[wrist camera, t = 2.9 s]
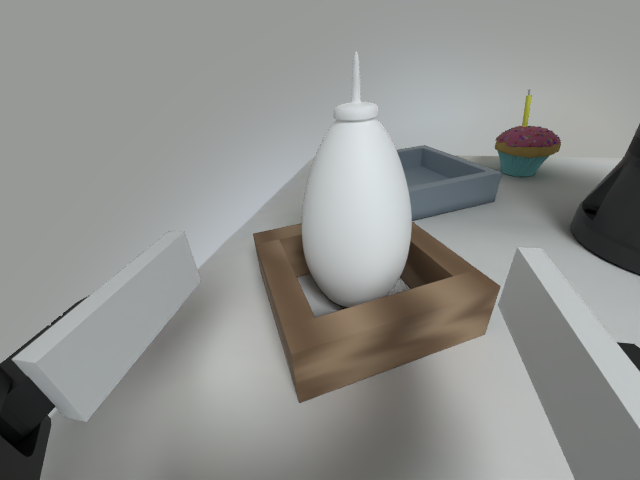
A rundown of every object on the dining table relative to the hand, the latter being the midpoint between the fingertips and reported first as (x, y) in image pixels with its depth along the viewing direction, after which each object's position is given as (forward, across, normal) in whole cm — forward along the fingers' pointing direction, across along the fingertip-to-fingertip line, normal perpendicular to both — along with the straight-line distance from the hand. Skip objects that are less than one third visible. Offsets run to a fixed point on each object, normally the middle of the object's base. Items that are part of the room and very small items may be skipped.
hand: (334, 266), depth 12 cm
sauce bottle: (+10, 0, -11) cm, 14 cm away
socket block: (+10, 0, -10) cm, 14 cm away
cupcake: (+43, +24, -11) cm, 50 cm away
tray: (+34, +6, -10) cm, 36 cm away
